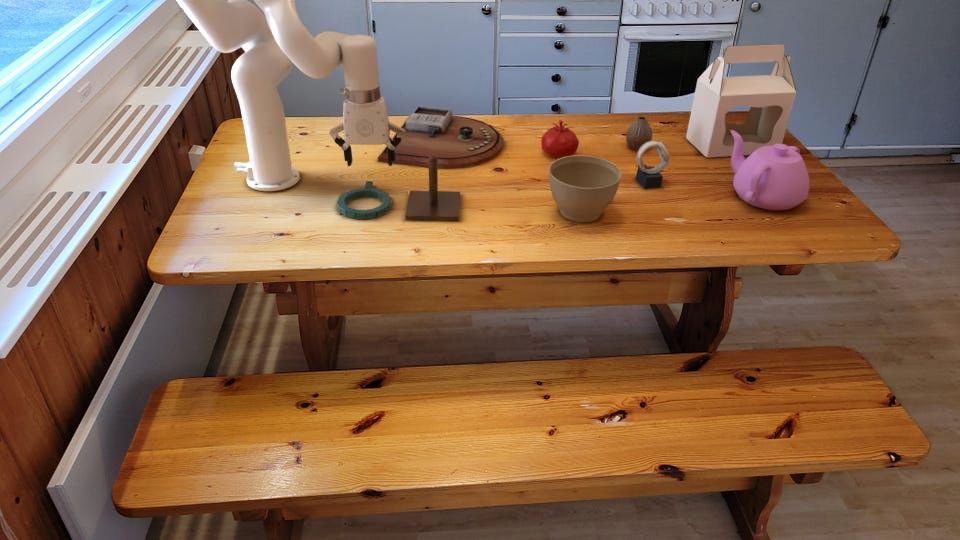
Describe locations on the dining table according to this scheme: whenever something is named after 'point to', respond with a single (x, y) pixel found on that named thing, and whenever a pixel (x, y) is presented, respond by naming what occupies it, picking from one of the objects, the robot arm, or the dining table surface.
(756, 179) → the teapot
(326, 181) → the dining table surface
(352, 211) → the ring
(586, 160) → the planter bowl
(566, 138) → the pomegranate
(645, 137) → the vase
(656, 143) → the ring sculpture
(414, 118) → the control panel
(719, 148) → the gable box
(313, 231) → the dining table surface
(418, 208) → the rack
